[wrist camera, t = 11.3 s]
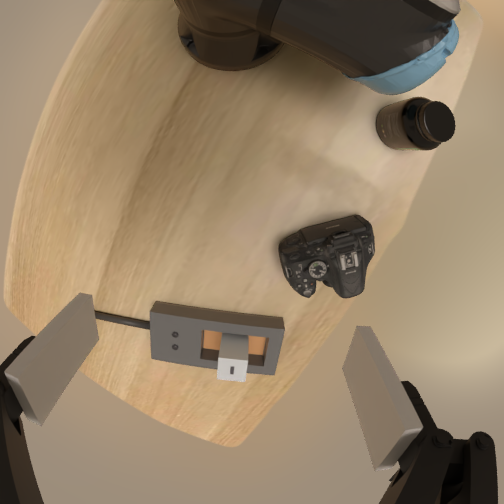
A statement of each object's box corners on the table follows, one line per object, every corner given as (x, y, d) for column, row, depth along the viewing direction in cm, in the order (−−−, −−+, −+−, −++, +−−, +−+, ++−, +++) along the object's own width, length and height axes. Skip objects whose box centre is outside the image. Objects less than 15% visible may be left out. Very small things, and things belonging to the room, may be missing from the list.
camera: (306, 296, 46) (319, 331, 36) (266, 247, 43) (271, 273, 34) (376, 244, 43) (405, 267, 34) (341, 191, 41) (367, 201, 31)
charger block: (222, 326, 47) (218, 357, 39) (249, 329, 47) (248, 360, 39) (221, 347, 48) (216, 379, 40) (246, 350, 48) (245, 382, 40)
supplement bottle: (402, 159, 39) (448, 163, 28) (367, 132, 38) (406, 125, 27) (421, 123, 37) (469, 118, 26) (387, 95, 36) (429, 80, 25)
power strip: (92, 333, 48) (84, 343, 45) (87, 288, 45) (77, 297, 42) (273, 362, 49) (274, 375, 46) (282, 317, 47) (284, 330, 43)
